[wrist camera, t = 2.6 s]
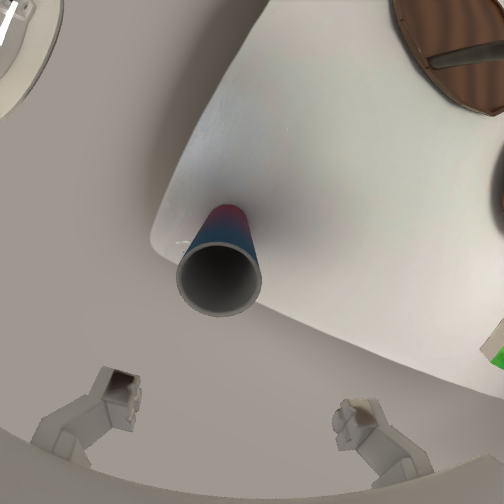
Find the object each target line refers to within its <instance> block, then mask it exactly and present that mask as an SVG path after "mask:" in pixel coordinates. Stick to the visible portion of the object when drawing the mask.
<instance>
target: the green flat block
mask: <svg viewBox="0 0 504 504" xmlns="http://www.w3.org/2000/svg"><path fill="white" fill-rule="evenodd" d="M480 350H481V352H482V353H483V354H484V355H485V357H486V358H487V359H488V360H489V362H490V363H492V364H494V365H496V366H498V367H499V368H501V369H503V370H504V318H503V320H502V321H501V322H500V324H499V325H498V327H497V328H496V329H495V331H494V332H493V333H492V335H491V336H490V337H489V338H488V340H487V341H486V342H485V344H484V345H483V346H482V347H481V348H480Z"/></svg>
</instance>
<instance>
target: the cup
mask: <svg viewBox="0 0 504 504" xmlns="http://www.w3.org/2000/svg"><path fill="white" fill-rule="evenodd" d="M176 282H177V287H178V290H179V292H180V295H181V296H182V298H183V299H184V301H186V303H187V304H188V305H189V306H190V307H192V308H193V309H195V310H196V311H198V312H200V313H202V314H205V315H208V316H212V317H229V316H233V315H236V314H239V313H241V312H243V311H245V310H246V309H248V308H249V307H250V306H251V305H252V304H253V303H254V302H255V300H256V299H257V297H258V295H259V293H260V290H261V285H262V276H261V272H260V268H259V264H258V261H257V257H256V253H255V249H254V245H253V241H252V237H251V233H250V230H249V226H248V222H247V218H246V216H245V214H244V213H243V211H242V210H241V209H239V208H238V207H236V206H233V205H221V206H219V207H217V208H215V209H214V210H213V211H212V212H211V213H210V215H209V216H208V218H207V219H206V221H205V223H204V224H203V226H202V227H201V229H200V230H199V232H198V234H197V235H196V237H195V238H194V240H193V242H192V243H191V245H190V246H189V248H188V250H187V251H186V253H185V255H184V256H183V258H182V260H181V261H180V263H179V265H178V269H177V273H176Z"/></svg>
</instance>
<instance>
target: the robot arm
mask: <svg viewBox="0 0 504 504" xmlns="http://www.w3.org/2000/svg"><path fill="white" fill-rule="evenodd" d="M35 10H36V4H35V3H34V2H33V1H32V0H0V78H1V77H2V76H3V75H4V74H5V73H6V72H7V70H8V69H9V67H10V66H11V64H12V63H13V61H14V59H15V58H16V56H17V54H18V52H19V49H20V47H21V45H22V42H23V39H24V35H25V32H26V28H27V25H28V23H29V21H30V19H31V18H32V16H33V14H34V12H35ZM140 383H141V379H140V376H137V375H133V374H130V373H127V372H123V371H120V370H116V369H112V368H109V367H106V366H103V367H102V368H101V369H100V371H99V374H98V376H97V378H96V380H95V382H94V384H93V386H92V388H91V391H90V393H89V395H83V396H81V397H80V398H78V399H76V400H74V401H73V402H71V403H69V404H67V405H66V406H64V407H62V408H61V409H58V410H57V411H55V412H53V413H51V414H49V415H48V416H46V417H44V418H42V419H41V421H40V423H39V425H38V427H37V429H36V431H35V433H34V435H33V437H32V440H31V442H30V443H28V442H26V441H24V440H22V439H20V438H18V437H17V436H15V435H13V434H11V433H10V432H8V431H6V430H4V429H3V428H1V427H0V504H504V464H503V463H502V462H501V461H499V460H498V459H496V458H495V457H493V456H492V455H489V454H482V455H479V456H477V457H475V458H473V459H470V460H468V461H465V462H463V463H460V464H458V465H455V466H453V467H450V468H447V469H445V470H441V471H438V472H436V473H435V472H434V470H433V468H432V465H431V463H430V460H429V458H428V456H427V454H426V452H425V451H424V450H422V449H421V448H420V447H419V446H417V445H416V444H415V443H413V442H412V441H411V440H410V439H408V438H407V437H406V436H404V435H403V434H402V433H400V432H399V431H398V430H397V429H395V428H394V427H393V426H389V425H388V422H387V420H386V417H385V415H384V413H383V410H382V408H381V406H380V403H379V401H378V400H377V399H376V398H368V399H367V398H366V399H365V398H361V399H345V400H343V401H342V403H341V408H340V409H338V410H336V412H335V413H334V415H333V419H332V426H333V430H334V431H335V432H336V433H337V434H338V435H337V437H336V442H337V446H338V449H339V451H345V450H356V451H357V452H358V454H359V455H360V456H361V457H362V458H363V459H364V460H365V461H366V462H367V463H368V465H370V467H371V468H372V469H373V470H374V471H375V472H376V473H377V474H378V475H379V476H380V477H379V478H378V479H377V480H376V481H375V482H373V484H372V489H370V490H365V491H359V492H353V493H347V494H339V495H331V496H321V497H310V498H294V499H246V498H245V499H244V498H228V497H217V496H207V495H199V494H191V493H185V492H178V491H172V490H167V489H162V488H157V487H153V486H148V485H144V484H140V483H136V482H132V481H128V480H124V479H120V478H117V477H114V476H110V475H107V474H104V473H101V472H98V471H95V470H92V469H90V467H91V463H90V461H89V460H88V458H87V456H86V454H85V452H84V450H86V449H87V448H88V447H89V446H91V445H92V444H93V443H94V442H96V441H97V440H98V439H99V438H100V437H102V436H103V435H104V434H105V433H107V432H108V431H109V430H110V429H111V428H112V427H113V428H118V429H121V430H125V431H129V432H133V428H134V424H135V421H136V415H135V413H136V412H137V411H139V407H140V403H141V394H142V393H141V388H140V387H139V386H140Z"/></svg>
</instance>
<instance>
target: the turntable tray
mask: <svg viewBox="0 0 504 504" xmlns="http://www.w3.org/2000/svg"><path fill="white" fill-rule="evenodd" d="M393 5H394V10H395V15H396V18H397V21H398V24H399V27H400V29H401V32H402V35H403V37H404V39H405V41H406V43H407V45H408V47H409V48H410V50H411V52H412V54H413V55H414V57H415V59H416V60H417V62H418V63H419V64H420V66H421V68H422V69H423V70H424V71H425V73H426V74H427V75H428V77H429V78H430V79H431V80H432V81H433V82H434V83H435V85H436V86H437V87H438V88H439V89H440V90H441V91H442V92H443V93H445V94H446V95H447V96H448V97H449V98H451V99H452V100H453V101H454V102H456V103H457V104H459V105H461V106H462V107H464V108H467V109H469V110H471V111H474V112H478V113H482V114H485V115H487V116H492V117H494V116H496V115H498V114H500V113H502V112H504V9H503V7H502V5H501V4H500V3H499V2H498V1H497V0H393Z"/></svg>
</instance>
